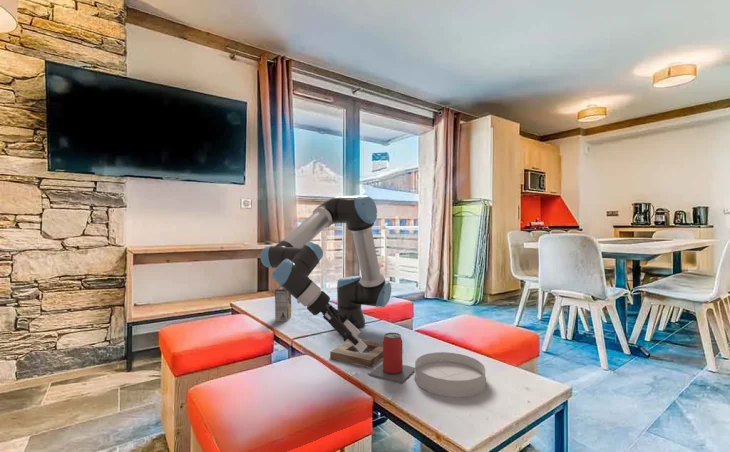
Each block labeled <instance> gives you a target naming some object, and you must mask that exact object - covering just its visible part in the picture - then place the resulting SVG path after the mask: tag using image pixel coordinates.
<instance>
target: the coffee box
mask: <svg viewBox="0 0 730 452" xmlns="http://www.w3.org/2000/svg"><path fill="white" fill-rule="evenodd" d="M274 314H275V315H274V316H275V317H274V318H275V322H288V321H289V320H290V319H291V317H292V295H291V294H290V293H289V292H288V291H286V290H285V289H284V288H283V287H282V286H278V287H277V288H275V289H274Z"/></svg>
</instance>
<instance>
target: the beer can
mask: <svg viewBox="0 0 730 452" xmlns="http://www.w3.org/2000/svg"><path fill="white" fill-rule="evenodd" d="M402 339H403V338H402V336H401V333H398V332H388V333H384V336H383V339H382V343H383V359H382V363H383V370H384V371H385V372H386V373H389V374H398V373H400V372H401V371H402V370H403V365H404V364H403V363H404V362H403V340H402Z"/></svg>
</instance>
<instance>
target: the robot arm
mask: <svg viewBox="0 0 730 452" xmlns="http://www.w3.org/2000/svg"><path fill="white" fill-rule="evenodd" d="M377 219H378V209H377V205H376V203H375V200H374V199H373V197H370V195H343V196H341V195H339V196H335V197H332V198H330V199H327V200H325V201H324V202H322V203H320V205H318V206H317V207H316V208H314V209H313V211H312V214H311V215H310V216H309V217H307V218H306V219H305V220H303V222H301V223H300V224H299V225H298V226H297V227H296V228H295V229H293V230H292V231H291V232H290V233H288V234H287V235H286V236H285V237H284V238H283V239H281V240H280V241H279V242H278V243H277V244H275V245H274V246H273V245H269V246H265V247H264V248H263V249H262V250H261V252H260V256H259V257H260V262H261V264H262V265H263V266H264V267H266V268H271V269H273V271H272V272H271V276H272V278H273V279H274V281H276V282H277V284H278V285H279V287H283V288H284V289H285V290H286V291H288V292H289V293H290V294H291V297H293V298H294V299H296V300H297V304H301V305H302V306H304V307H306V309H307V311H308V312H310V313H311V315H313V316H317V315H319V314H320V313H321V314H322V315H323V316H322V318H323V319H324V320H325V321H326V322H327V323H328V324H329V325H330V326H331V327H332V328H333V329H334V330H335V331H336V332H337V334H339V336H340V337H341V338H343V339H342V340H343V342H346V341H347V342H348V341H349V342H350V343H351V344H352V345H353V346H354V347H355V348H356V349H357V350H356V351H358V352H359V353H362V354H363V352H364V351H366V350H365V349H366V348H367V345H366V344H365V343H364V342H362V341H361V340H360V339H361V338H359V334H360V333H361V331H360V330H359V329H360V328H363V327H364V326H365V325H366V319H365V316H364V312H363V309H362V306H371V307H376V308H378V307H379V308H380V307H382V308H383V307H386V306H387V305H388V304H389V301H390V299H391V294H392V284H391V283H390V282H389V281H386V280H385V276H384V274H383V273H381V269H380V266H379V265H380V264H379V261H378V255H377V250H376V249H377V248H376V245H375V241H374V240H375V239H374V234H373V230H372V228H373V227H374V225H375V222H376V221H377ZM334 224H346V227H347V230H348V232H349V231H350V232H351V234H352V237H353V242H354V243H353V244H354V247H355V252H356V256H357V260H358V261H357V262H358V265H359V270H360V274H361V276H360V275H352V276H351V275H350V276H345V277H341V278H339V279H338V280H337V284H336V285H337V286H336V291H337V293H336V297H337V298H336V300H337V301H336V302H337V303H336V304H337V309H336V307H334V306H333V305H332V304H330V300H331V297H330V296H329V295H328V294H327V293H326V292H325V291H324V290H322V289H321V288H322V287H320V286H318V284H316V282H315V281H313V280H312V279H311V278H310V277H309V275H310V274H311V273H312V272H313V271H314V269H315V268H316V267H317V266H318V265H319V264H320V261H321V260H322V258H323V256H324V250H323V249H322V247H321V246H320V245H319V244H318V243H316V242H314V241H313V239H315V238H316V236H317V235H319V234H320V233H321V232H322V231H323V230H324V229H327V228H330V227H331V226H332V225H334Z"/></svg>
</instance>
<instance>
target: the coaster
mask: <svg viewBox="0 0 730 452" xmlns="http://www.w3.org/2000/svg"><path fill="white" fill-rule="evenodd" d="M412 374H415V367H414V366H411V365H405V364H403V370H402V371H401V372H400V373H398V374H389V373H386V372H385V371H384V370H383V362H382V363H380V364H379V365H378V366H377V367H375V368H374V369H373V370H371V371H370V372H369V373H368V376H370V377H374V378H378V379H382V380H386V381H390V382H394V383H397V384H398V383H399V384H403V383H405V381H407V380H408V379H409V377H410V376H411V375H412Z"/></svg>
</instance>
